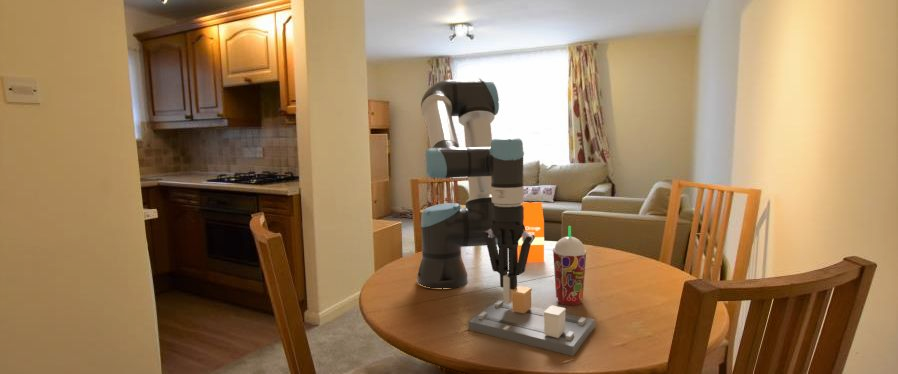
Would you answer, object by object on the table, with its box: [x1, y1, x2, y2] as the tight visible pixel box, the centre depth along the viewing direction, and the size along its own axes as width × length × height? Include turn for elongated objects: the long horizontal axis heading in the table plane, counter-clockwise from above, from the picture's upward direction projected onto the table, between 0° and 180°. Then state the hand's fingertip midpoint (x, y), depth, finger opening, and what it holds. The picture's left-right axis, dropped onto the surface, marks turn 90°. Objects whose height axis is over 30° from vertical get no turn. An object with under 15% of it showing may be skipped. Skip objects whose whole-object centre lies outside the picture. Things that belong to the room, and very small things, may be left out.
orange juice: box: [518, 201, 545, 263], centre depth 155 cm, size 8×9×20 cm
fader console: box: [468, 299, 596, 357], centre depth 100 cm, size 24×15×3 cm, turn 56°
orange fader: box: [512, 285, 533, 313], centre depth 106 cm, size 3×4×5 cm
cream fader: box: [544, 304, 567, 338], centre depth 93 cm, size 3×4×5 cm
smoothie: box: [552, 225, 587, 306], centre depth 115 cm, size 8×8×20 cm
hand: (508, 301), depth 107 cm, fingers closed
